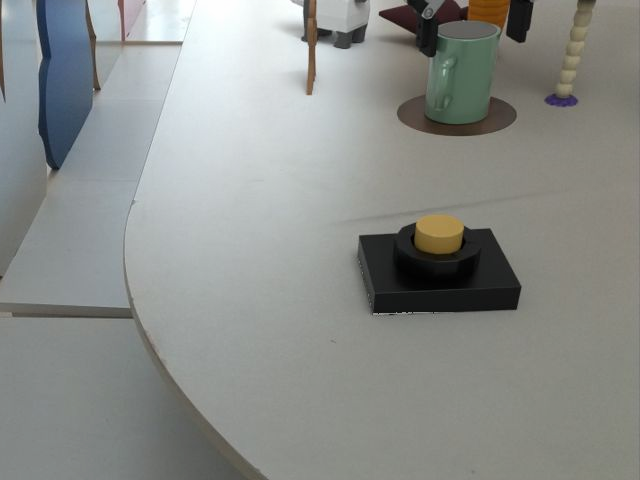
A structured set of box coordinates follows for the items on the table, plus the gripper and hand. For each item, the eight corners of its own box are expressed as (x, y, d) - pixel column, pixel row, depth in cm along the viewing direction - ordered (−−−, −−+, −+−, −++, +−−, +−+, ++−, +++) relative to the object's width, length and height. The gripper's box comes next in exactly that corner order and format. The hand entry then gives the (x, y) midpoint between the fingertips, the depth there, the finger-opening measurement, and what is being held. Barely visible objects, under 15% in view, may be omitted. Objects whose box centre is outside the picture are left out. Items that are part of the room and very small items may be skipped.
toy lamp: (588, 107, 89) (627, -54, 79) (579, 123, 86) (619, -43, 76) (544, 102, 92) (576, -55, 81) (533, 117, 89) (565, -45, 78)
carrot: (494, 76, 99) (515, -54, 90) (454, 72, 102) (470, -55, 92) (504, 63, 102) (525, -64, 93) (465, 60, 105) (482, -65, 96)
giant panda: (373, 40, 114) (378, -31, 108) (350, 51, 112) (353, -21, 106) (295, 25, 123) (296, -41, 118) (272, 35, 121) (271, -32, 115)
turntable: (497, 98, 94) (499, 88, 93) (531, 142, 84) (533, 132, 83) (386, 105, 95) (387, 96, 94) (406, 150, 85) (407, 140, 84)
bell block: (486, 250, 68) (493, 209, 66) (516, 310, 61) (526, 266, 59) (357, 256, 69) (360, 216, 67) (372, 316, 62) (376, 273, 60)
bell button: (455, 231, 64) (458, 212, 63) (465, 254, 61) (469, 235, 60) (410, 234, 65) (412, 215, 64) (418, 257, 62) (421, 238, 61)
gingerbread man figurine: (299, 82, 104) (300, -15, 97) (329, 81, 103) (332, -16, 96) (292, 107, 97) (293, 5, 90) (324, 107, 96) (327, 4, 89)
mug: (437, 97, 92) (446, 17, 87) (496, 106, 89) (510, 23, 83) (404, 129, 86) (412, 45, 81) (466, 139, 83) (478, 52, 77)
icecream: (373, 3, 107) (487, 17, 102) (388, -25, 111) (499, -13, 106) (369, 49, 113) (477, 65, 107) (383, 21, 116) (488, 34, 111)
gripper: (561, -157, 77) (532, 24, 87) (387, -130, 76) (380, 49, 87) (604, -151, 71) (568, 43, 81) (416, -122, 70) (404, 70, 81)
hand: (471, 46), depth 84 cm, fingers open, 9 cm apart
